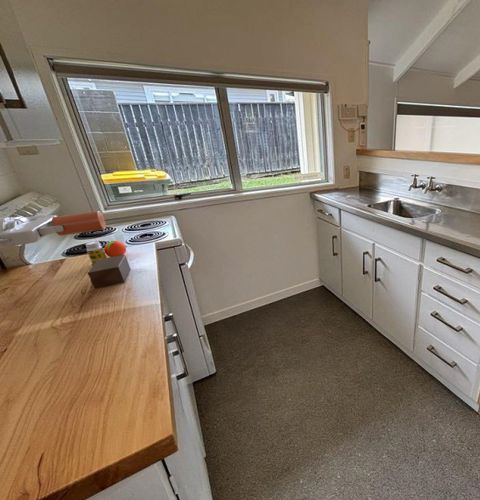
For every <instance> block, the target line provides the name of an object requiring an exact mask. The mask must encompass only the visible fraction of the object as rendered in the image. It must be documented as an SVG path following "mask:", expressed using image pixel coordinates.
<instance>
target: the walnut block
mask: <svg viewBox="0 0 480 500" xmlns="http://www.w3.org/2000/svg"><path fill="white" fill-rule="evenodd" d="M130 272H131V266H130V264H129V261H128V258H127V256H126V254H124V255H120V256H115V257H109V256H108V257H106V258H104V259H98V260H97V261H96V262H95V264H94V265H93V264H92V266H91V267H90V269H89V270H88V271H87V275H88V277H89V280H90V282H91V284H92V286H93V288H94V290H98V289H102V288H107V287H111V286H117V285H121V284H125V283H126V280H127V279H128V276H129V274H130Z"/></svg>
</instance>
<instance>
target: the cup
mask: <svg viewBox="0 0 480 500" xmlns="http://www.w3.org/2000/svg"><path fill="white" fill-rule="evenodd" d="M55 216H56V217H53V218H52V225H53V226H55V225H63V226H64V228H65V230H64V231H62V232H56V233H55V234H57V235H58V236H59V237H61V236H68V235H69V236H70V235H75V234H83V233H87V232H95V231H101V230H105V229H106V228H107V224H106V220H105V217H104V215H103V213H102V212H101V211H100V210H95V211H88V212H79V213H72V214H66V215H55Z"/></svg>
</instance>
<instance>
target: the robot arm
mask: <svg viewBox="0 0 480 500" xmlns="http://www.w3.org/2000/svg"><path fill="white" fill-rule="evenodd" d="M56 216H57V215H55V214H48V215H47V214H46V215H32V216H24V217H23V215H15V216H10V217H0V250H5V249H13V248H19V247H21V246H22V245H27V244H34V243H36V242H39V241H40V240H42V239H43V238H44V237H46V236H48V235H52V234H57V233H56V232H62V231H64V230H65V228H64V226H63V225H55V226H53V225H52V218H53V217H56Z"/></svg>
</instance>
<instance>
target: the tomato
mask: <svg viewBox="0 0 480 500" xmlns="http://www.w3.org/2000/svg"><path fill="white" fill-rule="evenodd" d="M103 250H104V253H105V255H106V256H107V257H108V258H109V257H115V256H120V255H126V252H127V247H126V245H125V244H124V243H123V242H122V241H119V240H111V241H109V242H107V243H106V244H105V245H104V248H103Z"/></svg>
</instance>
